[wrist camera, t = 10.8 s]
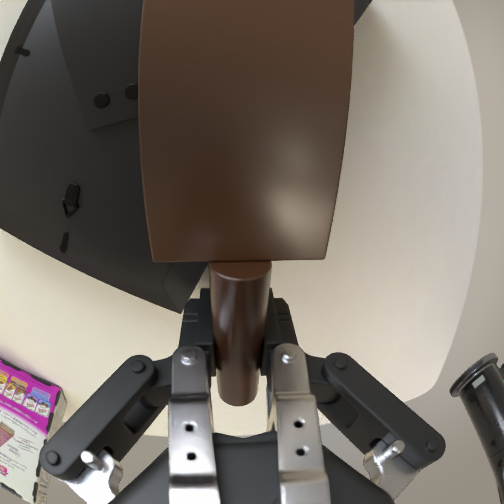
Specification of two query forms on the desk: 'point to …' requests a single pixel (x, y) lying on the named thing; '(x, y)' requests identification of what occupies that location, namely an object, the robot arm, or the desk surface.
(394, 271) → the desk surface
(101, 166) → the picture frame
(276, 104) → the brush
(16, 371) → the candy bar box
